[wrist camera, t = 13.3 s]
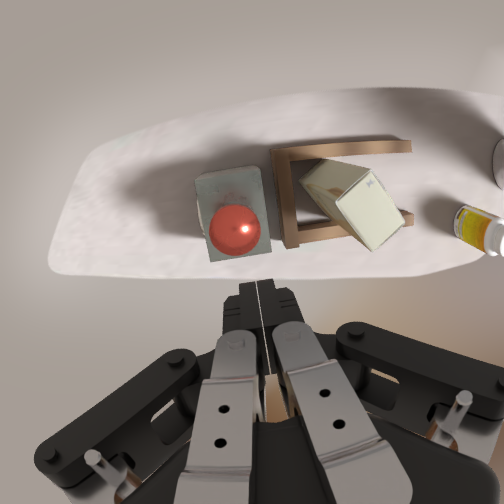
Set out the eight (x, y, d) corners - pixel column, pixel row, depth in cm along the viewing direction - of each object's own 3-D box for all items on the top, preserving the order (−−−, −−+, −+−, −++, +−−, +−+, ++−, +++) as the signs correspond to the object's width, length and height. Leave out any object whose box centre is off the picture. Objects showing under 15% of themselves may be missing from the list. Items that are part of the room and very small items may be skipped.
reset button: (253, 193, 26) (256, 202, 22) (259, 236, 27) (264, 251, 23) (208, 201, 26) (204, 210, 22) (216, 243, 27) (214, 259, 23)
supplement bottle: (452, 243, 38) (495, 268, 28) (450, 209, 36) (497, 229, 26) (474, 232, 37) (517, 254, 28) (473, 200, 35) (519, 217, 26)
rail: (402, 140, 32) (415, 140, 29) (405, 221, 36) (417, 227, 33) (269, 149, 32) (273, 149, 29) (281, 240, 36) (286, 249, 33)
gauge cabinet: (254, 164, 32) (260, 169, 26) (264, 231, 35) (271, 252, 28) (198, 174, 32) (189, 181, 26) (210, 240, 35) (206, 262, 28)
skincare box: (296, 180, 33) (330, 199, 22) (323, 156, 32) (369, 164, 21) (329, 220, 35) (373, 256, 24) (355, 197, 34) (407, 223, 23)
